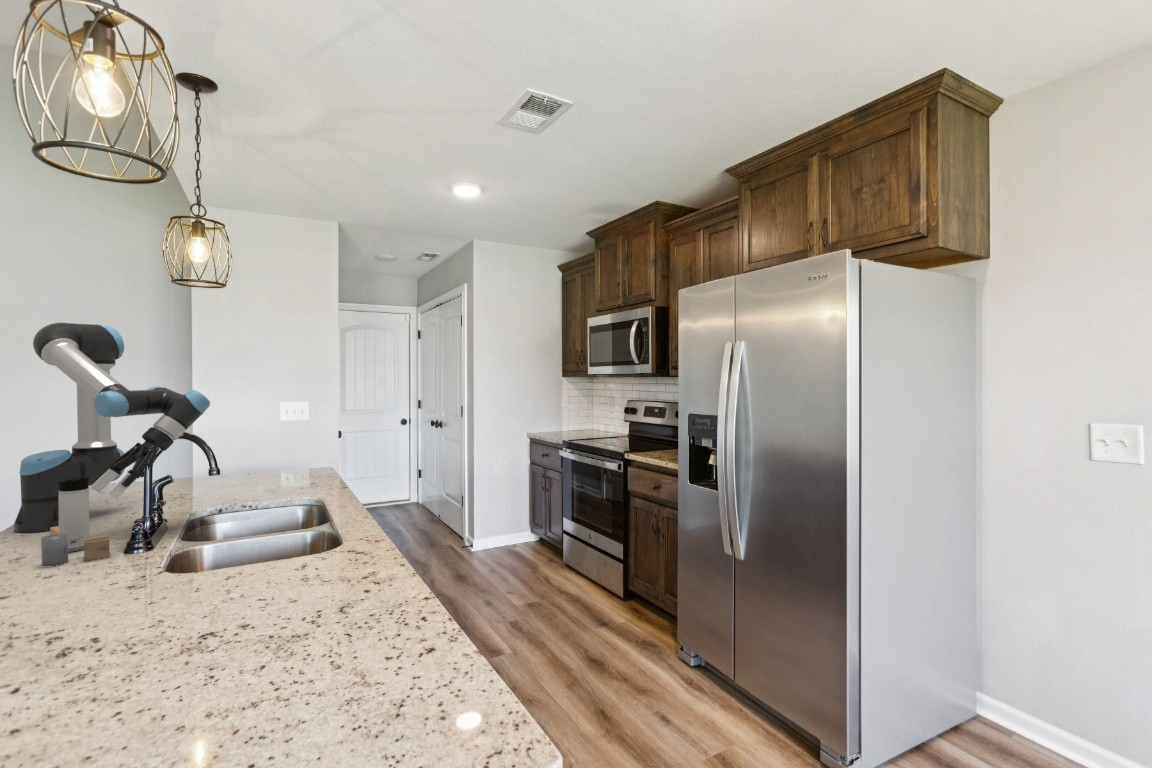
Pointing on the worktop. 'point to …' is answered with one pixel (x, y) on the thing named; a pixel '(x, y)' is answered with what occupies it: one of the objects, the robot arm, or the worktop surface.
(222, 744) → the worktop surface
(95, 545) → the walnut block
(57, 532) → the terracotta brick
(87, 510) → the travel mug
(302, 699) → the worktop surface
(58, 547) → the grey cylinder
